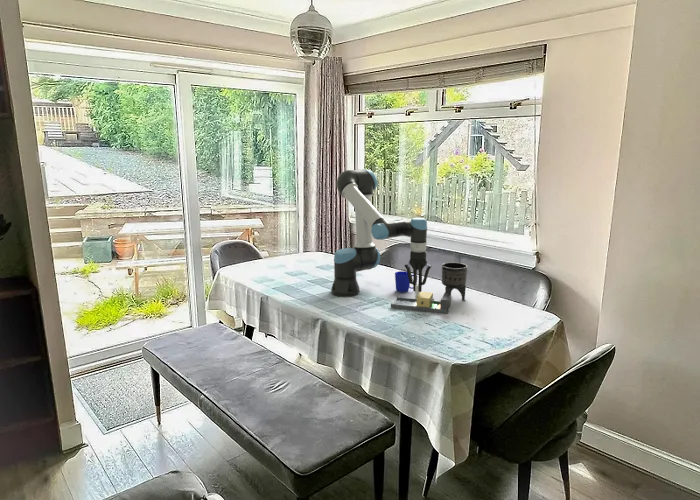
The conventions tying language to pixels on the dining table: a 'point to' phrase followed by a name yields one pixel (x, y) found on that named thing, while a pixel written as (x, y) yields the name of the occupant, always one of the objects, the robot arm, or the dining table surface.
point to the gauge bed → (412, 305)
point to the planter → (454, 277)
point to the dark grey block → (446, 301)
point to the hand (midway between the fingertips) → (417, 297)
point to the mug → (402, 281)
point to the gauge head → (425, 299)
